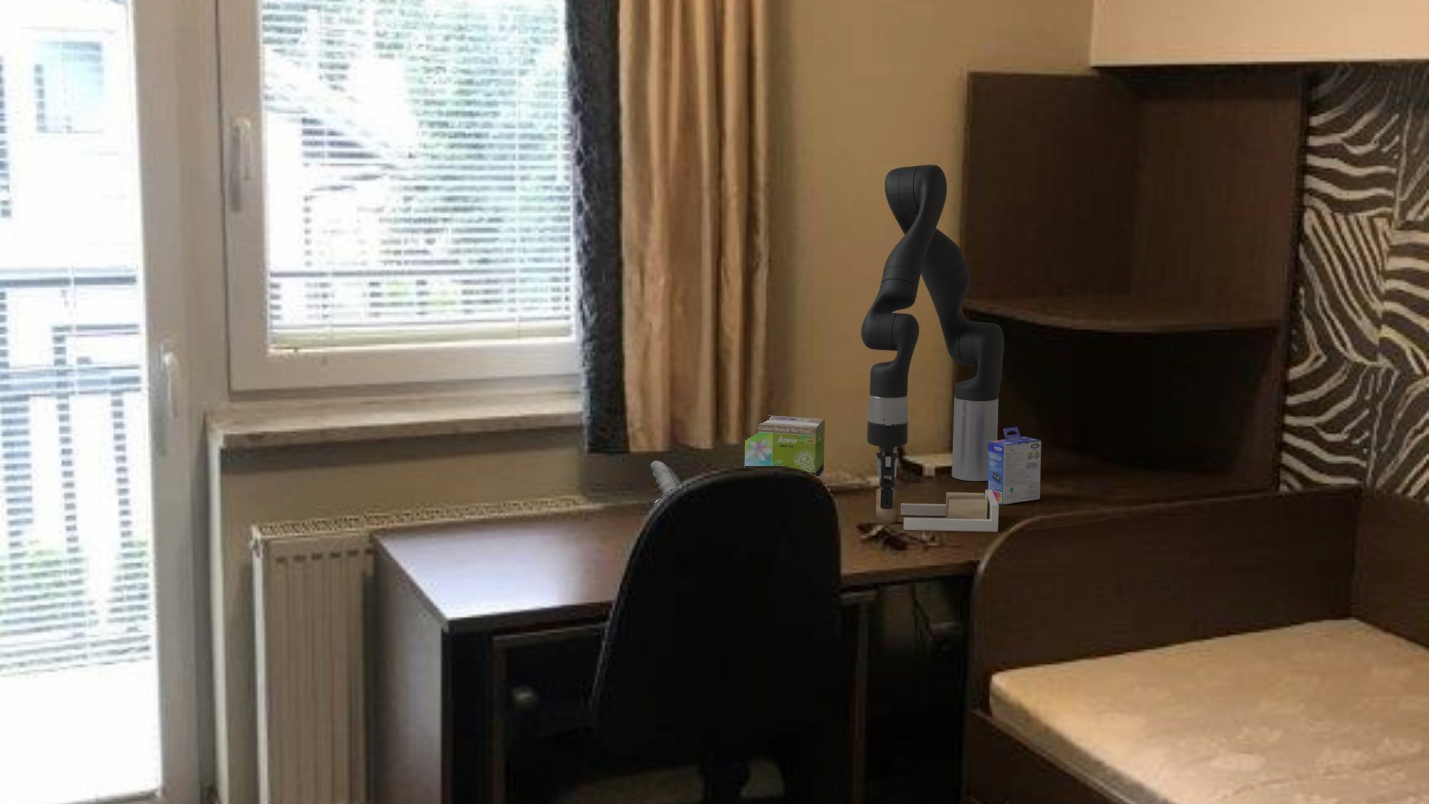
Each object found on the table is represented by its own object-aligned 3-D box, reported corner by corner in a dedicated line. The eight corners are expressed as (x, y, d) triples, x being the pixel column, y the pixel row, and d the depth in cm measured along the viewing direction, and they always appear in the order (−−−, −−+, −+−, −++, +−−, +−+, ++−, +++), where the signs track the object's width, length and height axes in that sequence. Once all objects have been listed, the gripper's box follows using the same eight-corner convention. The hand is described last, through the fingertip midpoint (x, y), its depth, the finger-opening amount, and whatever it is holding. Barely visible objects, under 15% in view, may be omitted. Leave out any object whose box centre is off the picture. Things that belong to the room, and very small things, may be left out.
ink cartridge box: (1022, 494, 314) (1025, 424, 312) (1041, 499, 309) (1044, 429, 307) (985, 500, 309) (987, 429, 307) (1003, 505, 305) (1005, 433, 302)
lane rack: (900, 513, 298) (901, 488, 297) (990, 515, 297) (991, 489, 296) (903, 529, 286) (904, 503, 285) (997, 531, 285) (998, 505, 284)
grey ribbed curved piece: (661, 530, 285) (661, 477, 283) (625, 509, 301) (625, 459, 299) (706, 525, 289) (707, 473, 287) (669, 504, 305) (669, 455, 303)
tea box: (743, 493, 315) (743, 422, 312) (753, 482, 324) (754, 413, 322) (816, 497, 311) (817, 425, 308) (824, 486, 321) (825, 416, 318)
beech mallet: (875, 516, 296) (875, 485, 295) (982, 518, 294) (983, 487, 293) (876, 525, 289) (877, 494, 288) (986, 527, 287) (987, 496, 286)
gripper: (866, 412, 296) (864, 494, 299) (868, 425, 282) (866, 511, 285) (906, 412, 295) (903, 495, 298) (909, 426, 281) (907, 512, 284)
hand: (885, 503), depth 291 cm, fingers open, 8 cm apart
